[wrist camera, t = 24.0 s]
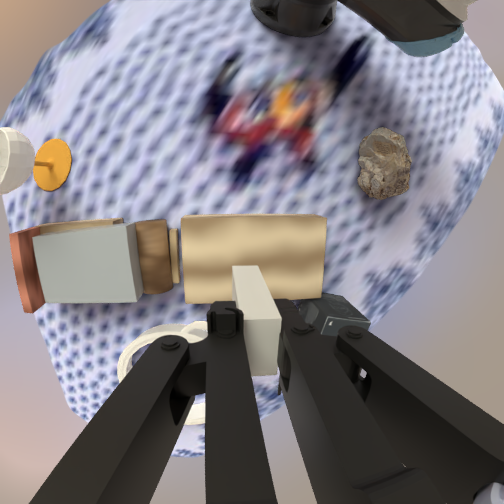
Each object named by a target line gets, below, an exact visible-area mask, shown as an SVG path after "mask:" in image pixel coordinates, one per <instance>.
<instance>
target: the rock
mask: <svg viewBox="0 0 504 504" xmlns="http://www.w3.org/2000/svg"><path fill="white" fill-rule="evenodd" d="M359 155H360V158H359V159H358V163H359V165H360V166H361V168H362V169H361V174H360V176H359V177H358V179H357V180H358V184H359V186H360V187H361V189H362V190H363V191H364V192H366V194H368V195H369V197H374V198H376V199H380V200H382V199H386V198H387V197H392V196H395V195H400V194H402V193H404V192H406V191H407V190H408V189H409V184H408V182H409V178H410V174H409V172H410V165H411V162H412V160H411V158H410V156H409V155H408V150H407V147H406V142H405V139H404V137H403V136H402V135H400V134H397V133H395V132H393V131H391V130H390V129H387V128H385V127H381V128H378V129H375V130H373V131H372V133H371V134H370V135H369V136H366V137H364V138H363V139H362V141H361V143H360V149H359Z"/></svg>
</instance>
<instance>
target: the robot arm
mask: <svg viewBox="0 0 504 504" xmlns="http://www.w3.org/2000/svg"><path fill="white" fill-rule="evenodd" d="M337 1H339V2H340V3H342V4H343V5H345V6H346V7H348V8H349V9H350V10H352V11H353V12H355V13H356V14H357V15H359V16H360V17H362V18H363V19H364V20H366V21H367V22H368V23H369V24H371V25H372V26H373V27H375V28H376V29H377V30H378V31H379V32H381V33H382V34H383V35H384V36H385V38H386V39H387V40H388V41H390V42H392V43H394V44H395V45H396V46H397V47H399V48H400V49H401V50H402V51H403V52H404V53H406V54H408V55H410V56H414V57H427V56H431V55H434V54H437V53H440V52H442V51H444V50H446V49H448V48H450V47H451V46H452V43H456V42H458V41H459V40H460V39H461V38H462V36H463V34H464V27H463V24H462V23H463V22H464V21H466V20H467V7H468V5H470V4H472V3H474V2H475V1H477V0H251V2H250V4H251V9H252V11H253V13H254V15H255V16H256V17H257V18H258V19H259V20H260V21H261V22H262V23H263V24H265V25H266V26H268V27H269V28H271V29H273V30H275V31H278V32H280V33H283V34H287V35H291V36H297V37H310V36H315V35H318V34H321V33H323V32H324V31H325V30H327V29H328V27H329V26H330V25H331V24H332V22H333V21H334V18H335V14H336V6H337ZM207 330H208V336H207V337H206V338H205V339H203V340H201V341H199V342H195V343H190V344H189V343H188V341H187V339H185V338H184V337H182V336H178V335H164V336H162V337H159V338H157V339H156V340H154V341H153V342H152V344H151V345H150V346H149V347H148V349H147V350H146V351H145V352H144V354H143V355H142V356H141V357H140V359H139V360H138V361H137V362H136V364H135V365H134V366H133V367H132V369H131V370H130V371H129V372H128V374H127V375H126V376H125V377H124V379H123V380H122V381H121V382H120V384H119V385H118V386H117V387H116V389H115V390H114V391H113V392H112V394H111V395H110V396H109V398H108V399H107V400H106V401H105V403H104V404H103V405H102V406H101V408H100V409H99V410H98V412H97V413H96V414H95V415H94V417H93V418H92V419H91V421H90V422H89V423H88V425H87V426H86V427H85V429H84V430H83V431H82V432H81V434H80V435H79V436H78V438H77V439H76V440H75V442H74V443H73V444H72V446H71V447H70V448H69V449H68V451H67V452H66V453H65V455H64V456H63V458H62V459H61V460H60V462H59V463H58V464H57V466H56V467H55V468H54V470H53V471H52V472H51V474H50V475H49V477H48V478H47V479H46V481H45V482H44V483H43V485H42V486H41V487H40V489H39V490H38V492H37V493H36V494H35V496H34V497H33V499H32V500H31V501H30V503H29V504H149V503H150V501H151V499H152V496H153V494H154V492H155V490H156V487H157V485H158V483H159V481H160V478H161V476H162V474H163V471H164V469H165V467H166V465H167V462H168V460H169V458H170V455H171V453H172V451H173V449H174V446H175V444H176V442H177V439H178V437H179V435H180V433H181V430H182V428H183V426H184V423H185V421H186V419H187V416H188V414H189V412H190V410H191V407H192V405H193V403H194V400H195V395H199V394H203V393H206V395H205V487H206V504H278V502H277V499H276V495H275V490H274V485H273V481H272V476H271V472H270V467H269V463H268V458H267V453H266V448H265V443H264V438H263V433H262V429H261V424H260V418H259V413H258V408H257V403H256V398H255V393H254V388H253V382H252V377H251V376H265V375H277V367H279V370H280V376H279V385H278V395H280V394H281V390H282V393H283V396H284V400H285V403H286V406H287V409H288V412H289V416H290V419H291V422H292V426H293V429H294V432H295V435H296V438H297V442H298V444H299V448H300V451H301V454H302V457H303V461H304V464H305V467H306V470H307V473H308V476H309V479H310V483H311V486H312V489H313V492H314V495H315V498H316V501H317V504H504V424H502V423H501V422H499V421H498V420H496V419H495V418H493V417H492V416H491V415H489V414H488V413H486V412H485V411H483V410H482V409H481V408H479V407H478V406H476V405H475V404H473V403H472V402H470V401H469V400H468V399H466V398H464V397H463V396H462V395H460V394H459V393H457V392H456V391H454V390H453V389H452V388H450V387H449V386H447V385H446V384H444V383H443V382H441V381H440V380H439V379H437V378H436V377H434V376H433V375H431V374H430V373H428V372H427V371H426V370H424V369H423V368H421V367H420V366H418V365H417V364H415V363H414V362H412V361H411V360H410V359H408V358H407V357H405V356H404V355H402V354H401V353H399V352H398V351H396V350H395V349H394V348H392V347H391V346H389V345H388V344H386V343H385V342H384V341H382V340H381V339H379V338H378V337H376V336H375V335H373V334H372V333H370V332H369V331H368V330H366V329H364V328H362V327H358V326H355V325H349V326H344V327H342V328H340V329H339V330H338V334H337V336H329V335H321V334H320V332H319V331H318V329H317V328H316V327H315V326H314V325H312V324H310V323H306V322H304V320H303V318H302V316H301V315H300V313H299V312H298V310H297V308H296V306H295V305H294V303H293V302H291V301H290V300H288V299H287V298H284V299H273V298H272V296H271V294H270V291H269V289H268V287H267V285H266V283H265V280H264V278H263V276H262V274H261V272H260V269H259V267H258V265H255V266H232V301H215V302H214V303H213V304H212V305H211V306H210V310H209V311H208V313H207ZM362 369H364V370H365V371H366V372H367V374H366V377H365V378H363V377H361V376H360V373H361V370H362ZM404 466H406V467H407V468H406V467H404Z"/></svg>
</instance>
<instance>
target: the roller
mask: <svg viewBox="0 0 504 504" xmlns="http://www.w3.org/2000/svg"><path fill="white" fill-rule="evenodd" d="M135 227H136V237H137V245H138V254H139V261H140V268H141V275H142V281H143V287H144V292H143V293H146V294H160V293H164V292H167V291H169V290H171V289H172V288H173V282H172V274H171V265H170V256H169V246H168V235H167V223H166V220H165V219H155V220H146V221H139V222H135Z"/></svg>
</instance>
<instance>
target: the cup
mask: <svg viewBox="0 0 504 504" xmlns="http://www.w3.org/2000/svg"><path fill="white" fill-rule="evenodd" d="M71 162H72V158H71V152H70V149H69V147H68V145H67V144H66V143H65V142H64V141H62V140H60V139H51V140H49V141H47V142H46V143H44V144H43V145H42V147H41V148H40V149H39V150H38V152H37V154H36V157H35V151H34V148H33V146H32V144H31V142H30V141H29V139H28V138H27V137H26V136H24V135H23V134H22V133H20V132H19V131H17V130H15V129H12V128H9V127H4V128H0V195H2V194H6V193H9V192H11V191H12V190H14V189H16V188H18V187H19V186H21V185H22V184H23V183H24V182H25V181H26V180H27V179H28V178H29V176H30V175H31V173H32V170H33V173H34V179H35V181H36V183H37V185H38V186H39V187H40V188H42V189H43V190H47V191H53V190H55V189H57V188H59V187H60V186H61V185H62V184H63V183H64V182H65V181H66V179H67V176H68V174H69V172H70V168H71Z"/></svg>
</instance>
